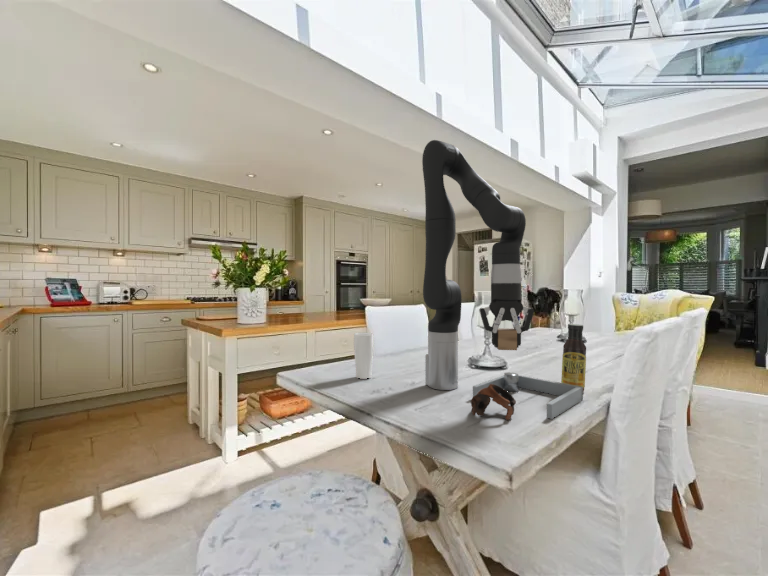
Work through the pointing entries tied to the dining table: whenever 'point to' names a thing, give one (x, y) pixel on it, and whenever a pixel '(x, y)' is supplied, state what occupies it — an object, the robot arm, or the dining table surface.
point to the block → (507, 339)
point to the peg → (511, 382)
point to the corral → (566, 392)
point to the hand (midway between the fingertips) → (506, 346)
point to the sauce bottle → (574, 357)
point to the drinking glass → (363, 354)
